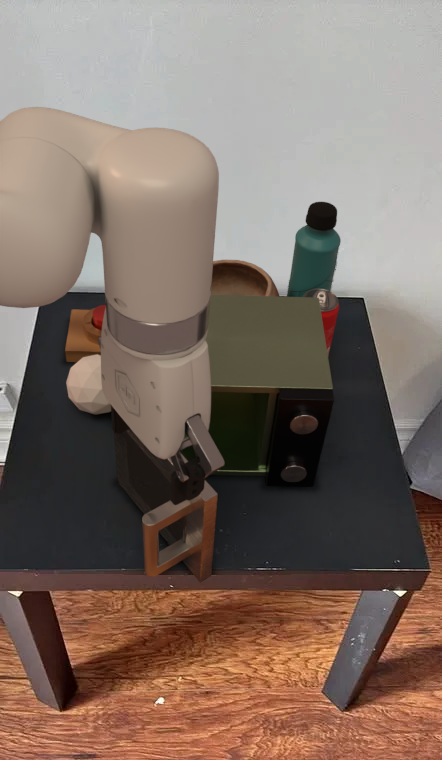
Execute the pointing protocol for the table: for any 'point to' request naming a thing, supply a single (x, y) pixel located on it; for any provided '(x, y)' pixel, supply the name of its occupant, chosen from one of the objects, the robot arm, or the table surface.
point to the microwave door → (166, 510)
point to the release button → (98, 316)
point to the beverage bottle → (315, 251)
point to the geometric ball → (87, 386)
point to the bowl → (241, 279)
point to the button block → (82, 336)
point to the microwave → (268, 387)
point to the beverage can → (326, 311)
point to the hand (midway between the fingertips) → (157, 460)
